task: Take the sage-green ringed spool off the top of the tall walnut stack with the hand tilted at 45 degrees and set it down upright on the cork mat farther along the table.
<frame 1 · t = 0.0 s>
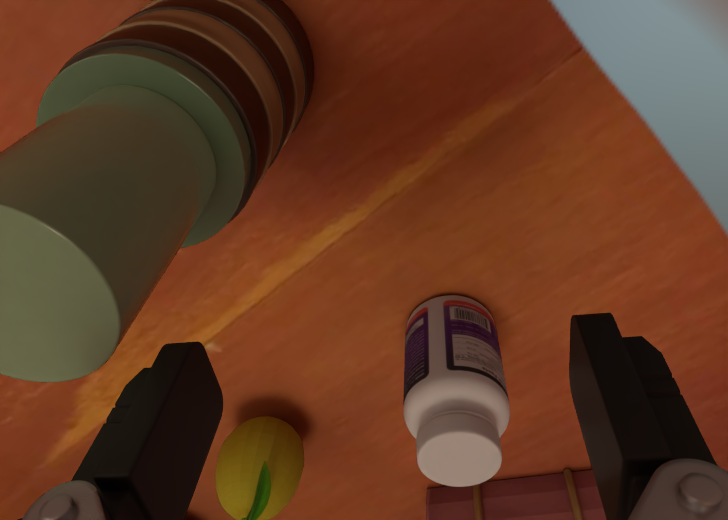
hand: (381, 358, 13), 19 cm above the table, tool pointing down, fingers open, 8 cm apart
pill bottle: (450, 326, 36), on the table
stack: (231, 66, 29), on the table
ring spool: (152, 148, 20), point 10 cm above the table, touching stack
lemon: (272, 416, 42), on the table
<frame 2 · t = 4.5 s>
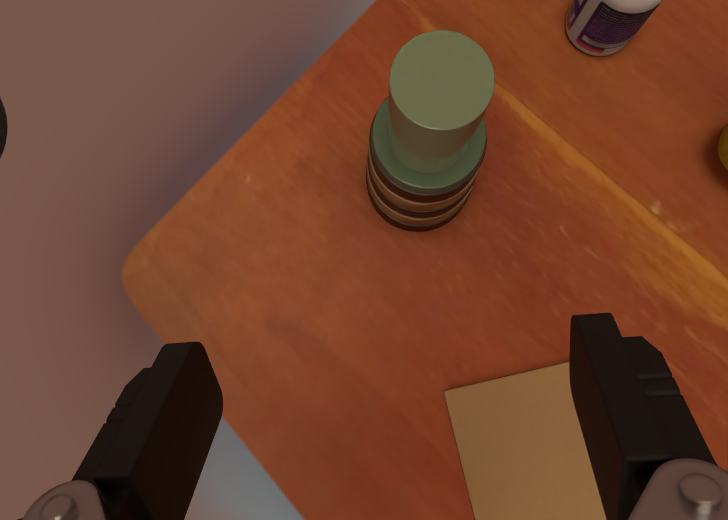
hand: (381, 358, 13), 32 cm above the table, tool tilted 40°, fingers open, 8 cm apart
mat: (543, 453, 44), on the table
pill bottle: (596, 27, 48), on the table
stack: (417, 181, 47), on the table
ring spool: (427, 138, 37), point 10 cm above the table, touching stack
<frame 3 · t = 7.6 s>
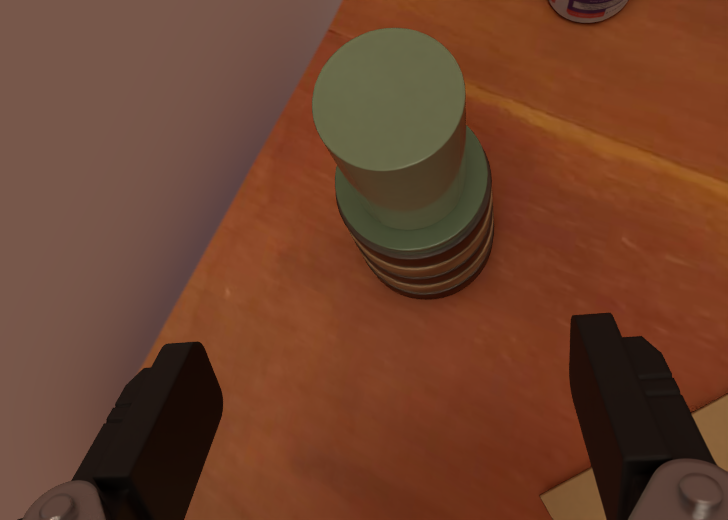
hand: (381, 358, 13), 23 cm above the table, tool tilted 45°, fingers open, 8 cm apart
stack: (426, 235, 37), on the table
ring spool: (411, 183, 28), point 10 cm above the table, touching stack
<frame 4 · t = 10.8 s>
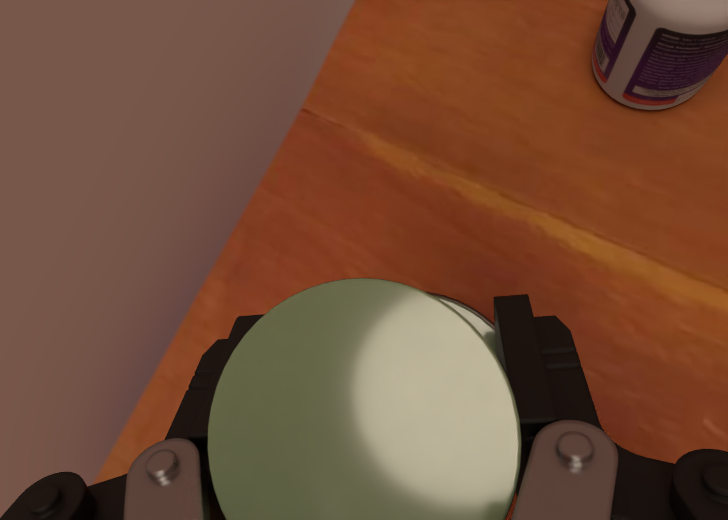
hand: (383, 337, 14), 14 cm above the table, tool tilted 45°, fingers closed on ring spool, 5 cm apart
pill bottle: (647, 62, 29), on the table
ring spool: (409, 412, 18), point 10 cm above the table, touching gripper, stack
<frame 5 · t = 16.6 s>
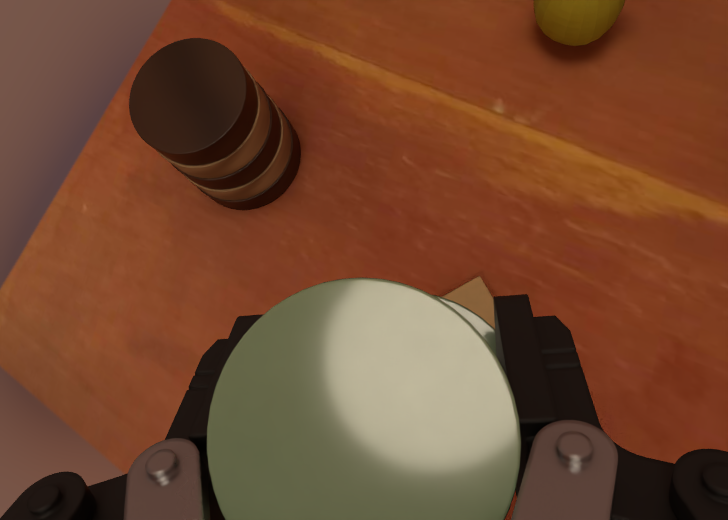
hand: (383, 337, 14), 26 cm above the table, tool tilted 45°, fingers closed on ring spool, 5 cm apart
mat: (445, 403, 38), on the table
stack: (248, 157, 44), on the table
ring spool: (409, 411, 18), point 22 cm above the table, touching gripper
lemon: (566, 33, 42), on the table
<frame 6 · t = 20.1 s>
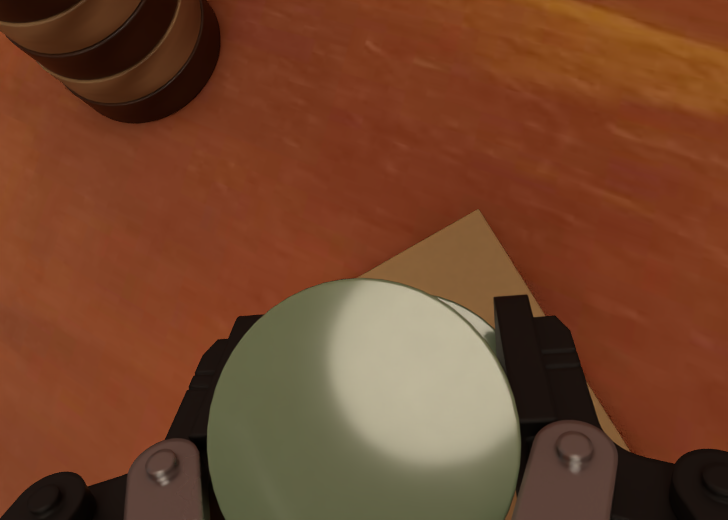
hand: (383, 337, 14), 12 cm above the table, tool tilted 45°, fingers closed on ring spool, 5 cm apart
mat: (426, 402, 25), on the table
stack: (146, 50, 31), on the table
ring spool: (409, 412, 18), point 8 cm above the table, touching gripper
when the fingers open (5 cm above the table, at t = 22.6 s): ring spool stays where it is, resting on mat.
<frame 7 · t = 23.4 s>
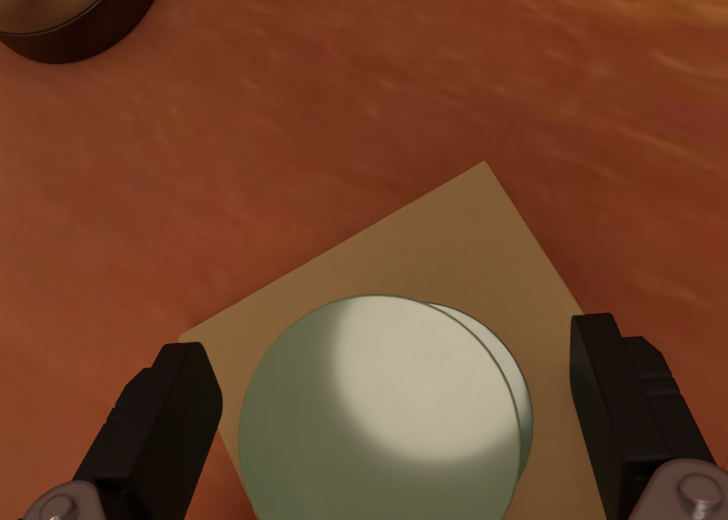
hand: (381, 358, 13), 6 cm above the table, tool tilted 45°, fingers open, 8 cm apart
mat: (416, 411, 19), on the table
ring spool: (417, 414, 19), resting on mat
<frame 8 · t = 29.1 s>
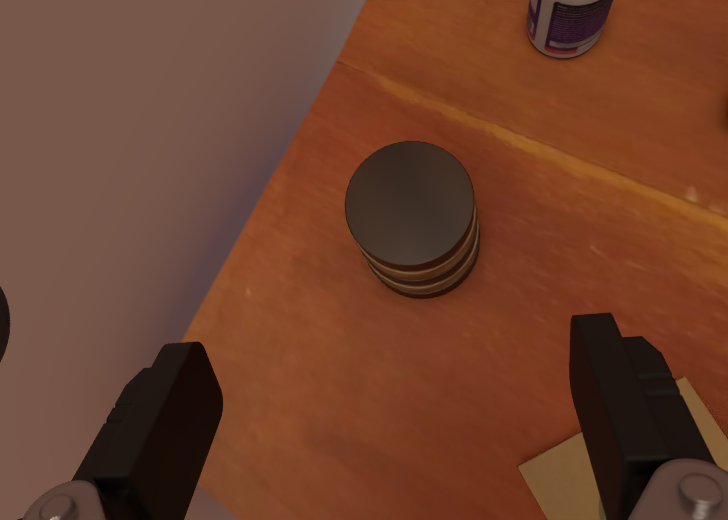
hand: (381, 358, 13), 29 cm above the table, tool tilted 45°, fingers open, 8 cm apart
mat: (654, 510, 37), on the table
pill bottle: (563, 28, 44), on the table
stack: (422, 243, 43), on the table
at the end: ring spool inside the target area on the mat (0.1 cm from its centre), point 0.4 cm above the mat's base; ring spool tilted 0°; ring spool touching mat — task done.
